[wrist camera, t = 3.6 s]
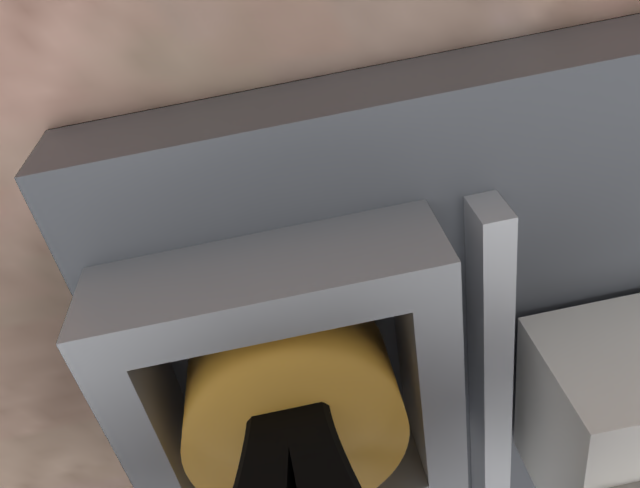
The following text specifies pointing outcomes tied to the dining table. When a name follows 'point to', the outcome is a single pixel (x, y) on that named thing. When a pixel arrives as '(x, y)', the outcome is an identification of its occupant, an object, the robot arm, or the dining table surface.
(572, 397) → the slider knob
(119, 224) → the control panel
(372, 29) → the dining table surface
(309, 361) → the amber button
